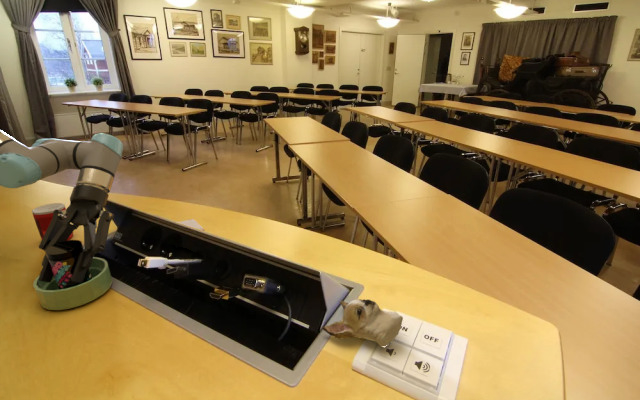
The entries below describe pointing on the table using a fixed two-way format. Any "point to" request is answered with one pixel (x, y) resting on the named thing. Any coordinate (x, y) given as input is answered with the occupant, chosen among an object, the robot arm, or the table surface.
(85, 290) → the bowl
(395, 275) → the table surface
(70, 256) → the supplement container
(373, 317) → the ceramic sculpture
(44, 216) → the canned food
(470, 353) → the table surface
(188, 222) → the charger
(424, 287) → the table surface
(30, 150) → the robot arm
